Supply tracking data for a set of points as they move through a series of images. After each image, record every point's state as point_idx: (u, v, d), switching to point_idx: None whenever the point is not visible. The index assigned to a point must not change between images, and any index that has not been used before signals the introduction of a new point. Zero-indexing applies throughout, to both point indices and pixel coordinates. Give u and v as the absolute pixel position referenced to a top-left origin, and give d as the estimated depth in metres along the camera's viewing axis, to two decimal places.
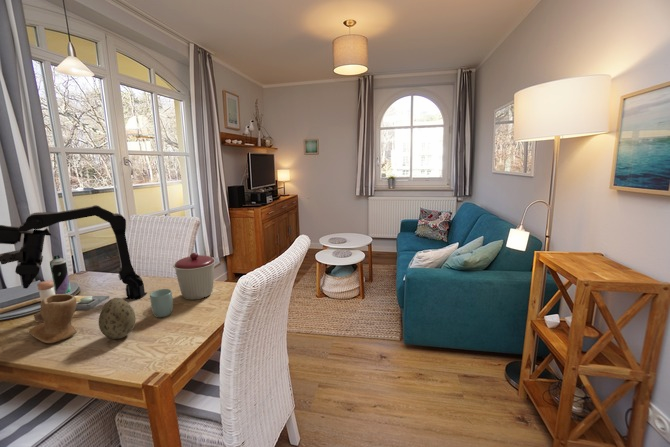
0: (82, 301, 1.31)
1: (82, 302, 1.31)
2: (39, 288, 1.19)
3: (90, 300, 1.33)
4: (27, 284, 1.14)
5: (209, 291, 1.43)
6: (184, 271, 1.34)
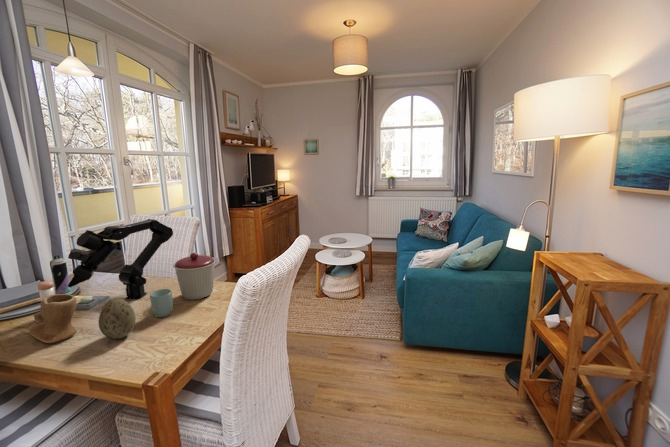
0: (82, 301, 1.31)
1: (82, 302, 1.31)
2: (39, 288, 1.19)
3: (90, 300, 1.33)
4: (72, 284, 1.21)
5: (209, 291, 1.43)
6: (184, 271, 1.34)
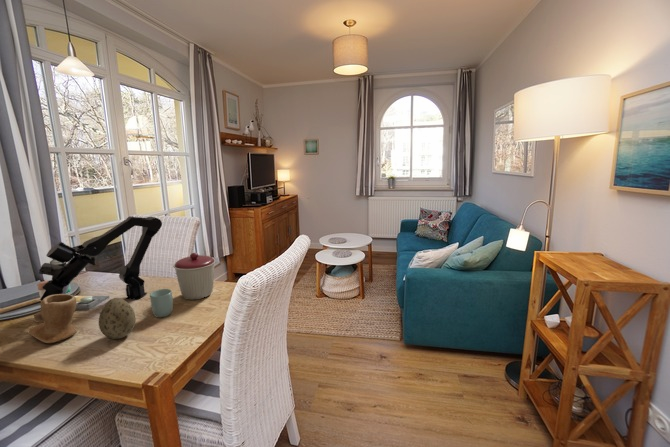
0: (82, 301, 1.31)
1: (82, 302, 1.31)
2: (39, 288, 1.19)
3: (90, 300, 1.33)
4: None
5: (209, 291, 1.43)
6: (184, 271, 1.34)
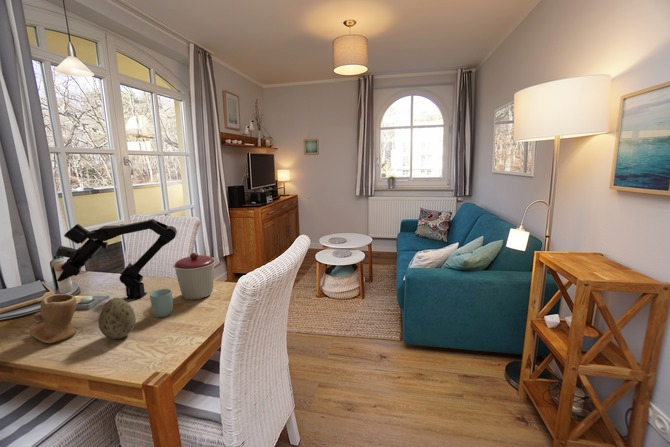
0: (82, 301, 1.31)
1: (82, 302, 1.31)
2: (56, 269, 1.27)
3: (90, 300, 1.33)
4: (62, 278, 1.27)
5: (209, 291, 1.43)
6: (184, 271, 1.34)
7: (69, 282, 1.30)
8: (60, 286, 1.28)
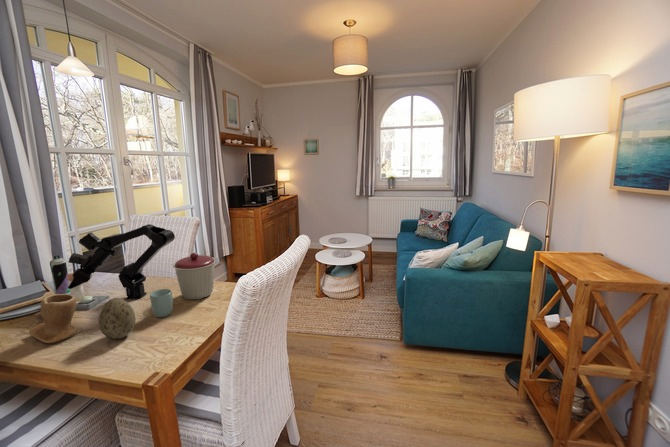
0: (82, 301, 1.31)
1: (82, 302, 1.31)
2: (68, 279, 1.33)
3: (90, 300, 1.33)
4: (72, 286, 1.32)
5: (209, 291, 1.43)
6: (184, 271, 1.34)
7: (81, 291, 1.37)
8: (72, 294, 1.35)
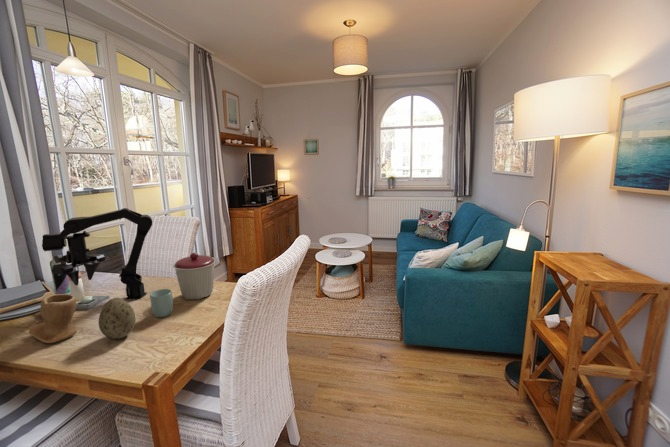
0: (82, 301, 1.31)
1: (82, 302, 1.31)
2: (69, 279, 1.34)
3: (90, 300, 1.33)
4: (75, 282, 1.28)
5: (209, 291, 1.43)
6: (184, 271, 1.34)
7: (81, 291, 1.37)
8: (73, 294, 1.35)
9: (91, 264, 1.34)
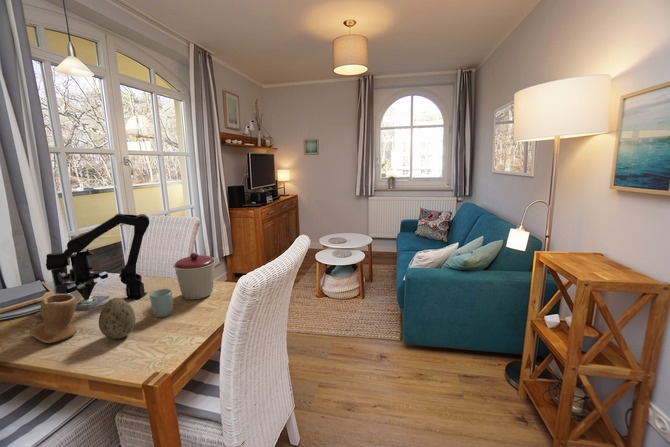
0: (82, 303, 1.31)
1: None
2: None
3: (90, 302, 1.33)
4: (84, 297, 1.32)
5: (209, 291, 1.43)
6: (184, 271, 1.34)
7: None
8: (73, 294, 1.35)
9: (88, 284, 1.33)
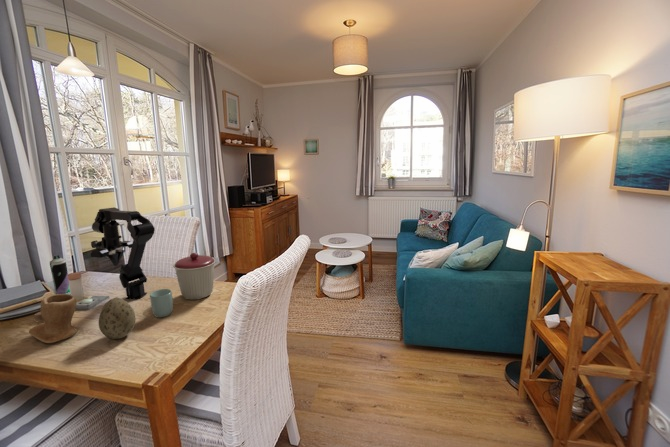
0: (82, 303, 1.31)
1: None
2: (69, 278, 1.34)
3: (90, 302, 1.33)
4: (114, 263, 1.45)
5: (209, 291, 1.43)
6: (184, 271, 1.34)
7: (81, 291, 1.37)
8: (73, 294, 1.35)
9: (117, 251, 1.46)
